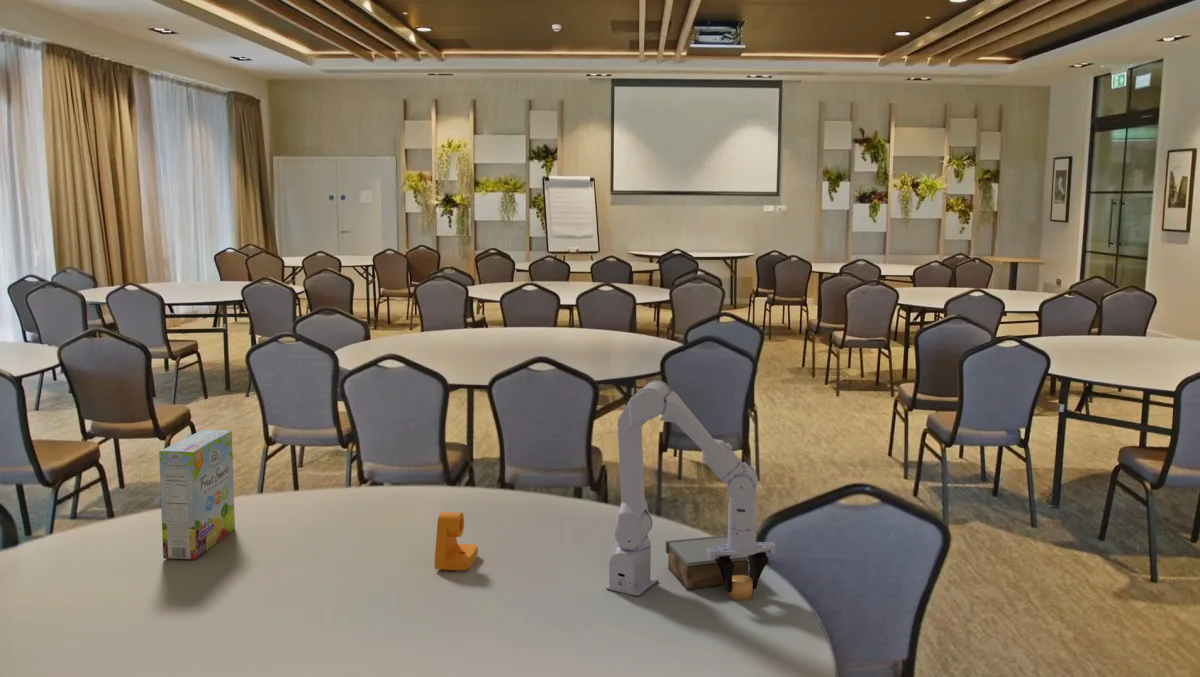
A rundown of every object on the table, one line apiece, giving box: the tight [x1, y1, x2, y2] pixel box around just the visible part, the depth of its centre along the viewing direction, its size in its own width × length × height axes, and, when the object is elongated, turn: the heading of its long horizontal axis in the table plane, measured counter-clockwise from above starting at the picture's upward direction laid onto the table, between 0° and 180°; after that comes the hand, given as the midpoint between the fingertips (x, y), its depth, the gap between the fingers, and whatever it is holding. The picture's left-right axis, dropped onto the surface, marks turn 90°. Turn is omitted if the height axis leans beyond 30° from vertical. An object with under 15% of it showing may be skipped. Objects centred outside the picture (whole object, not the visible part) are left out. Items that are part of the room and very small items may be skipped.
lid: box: [665, 534, 749, 566], centre depth 201 cm, size 13×15×3 cm
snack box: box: [158, 429, 236, 561], centre depth 218 cm, size 22×9×26 cm, turn 179°
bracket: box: [434, 511, 479, 571], centre depth 207 cm, size 11×7×12 cm, turn 173°
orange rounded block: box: [727, 575, 754, 602], centre depth 190 cm, size 5×5×4 cm
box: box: [667, 547, 749, 591], centre depth 200 cm, size 12×14×5 cm
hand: (740, 588), depth 190 cm, fingers closed on orange rounded block, 5 cm apart
